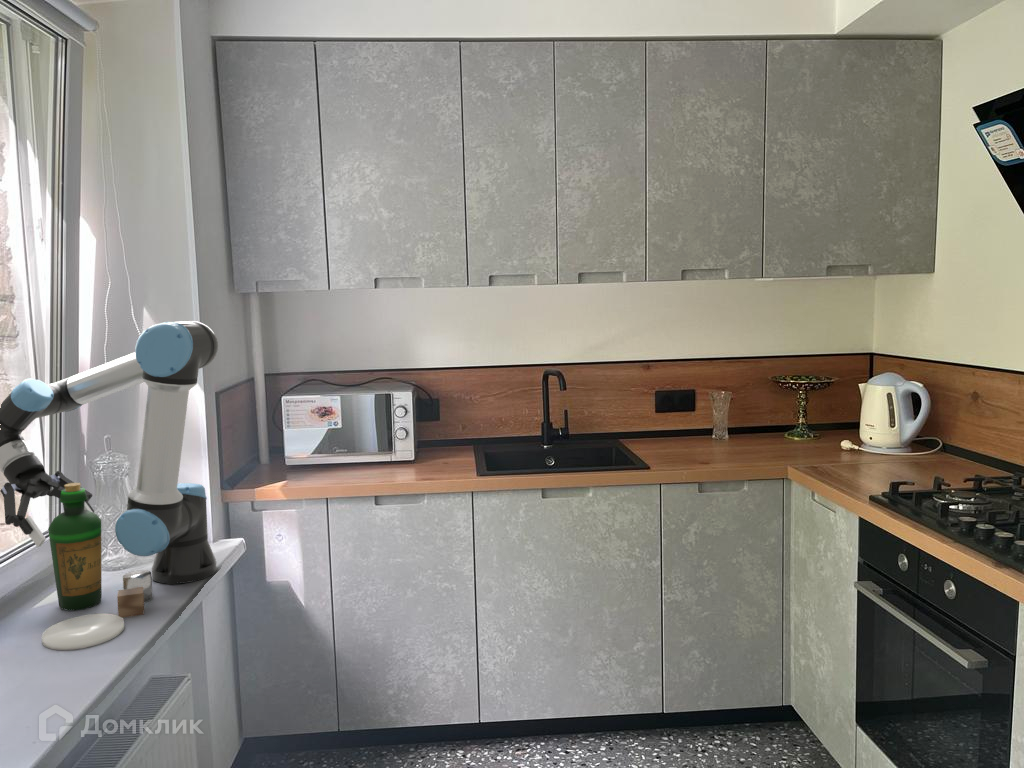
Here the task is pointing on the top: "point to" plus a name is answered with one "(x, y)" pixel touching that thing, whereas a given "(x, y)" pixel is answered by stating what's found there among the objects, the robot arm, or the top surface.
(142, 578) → the metal tin
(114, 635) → the white round disc
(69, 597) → the bottle
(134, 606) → the walnut block
